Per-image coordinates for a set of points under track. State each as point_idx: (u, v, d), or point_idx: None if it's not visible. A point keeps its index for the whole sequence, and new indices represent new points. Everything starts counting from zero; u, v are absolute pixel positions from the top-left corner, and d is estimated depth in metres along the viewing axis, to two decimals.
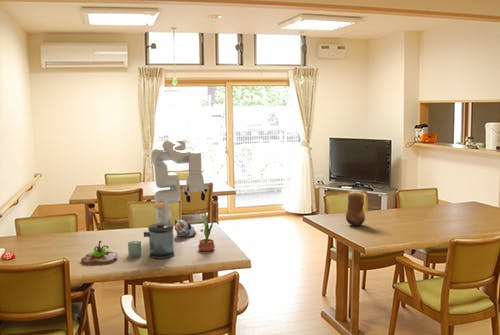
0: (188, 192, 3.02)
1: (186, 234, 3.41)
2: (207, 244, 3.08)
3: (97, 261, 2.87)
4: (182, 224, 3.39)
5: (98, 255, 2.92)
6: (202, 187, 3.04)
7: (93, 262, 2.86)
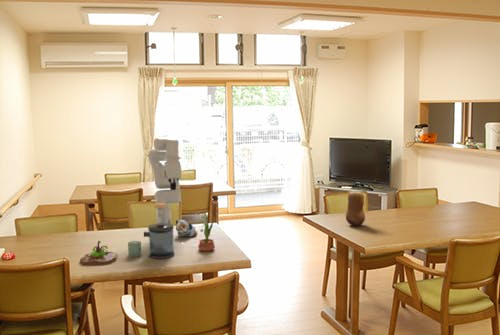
0: None
1: (187, 234, 3.41)
2: (207, 244, 3.08)
3: (96, 261, 2.86)
4: (183, 224, 3.39)
5: (97, 255, 2.92)
6: (179, 173, 3.10)
7: (92, 262, 2.86)
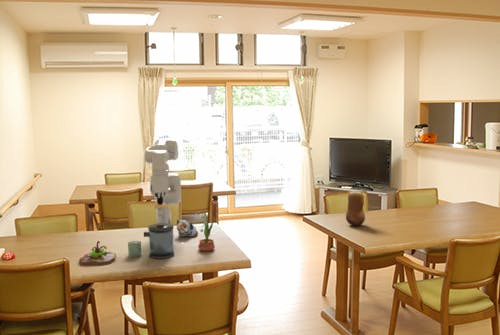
0: None
1: (188, 234, 3.41)
2: (207, 244, 3.08)
3: (95, 262, 2.86)
4: (184, 224, 3.39)
5: (96, 255, 2.91)
6: (166, 188, 2.98)
7: (91, 263, 2.86)
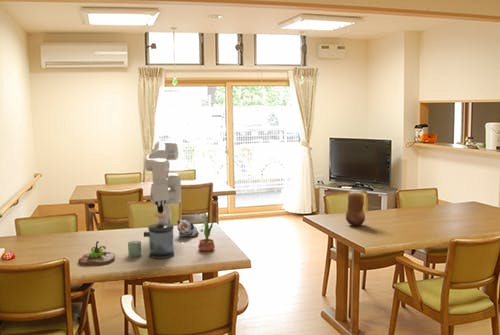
0: None
1: (189, 234, 3.41)
2: (207, 244, 3.08)
3: (94, 262, 2.85)
4: (185, 224, 3.39)
5: (95, 256, 2.91)
6: (167, 196, 2.99)
7: (90, 263, 2.85)
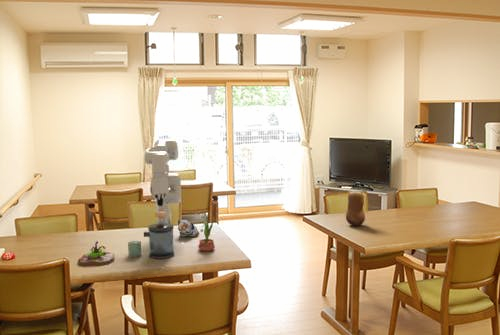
0: None
1: (190, 234, 3.41)
2: (207, 244, 3.08)
3: (94, 262, 2.85)
4: (186, 224, 3.39)
5: (95, 256, 2.91)
6: (166, 189, 2.98)
7: (90, 263, 2.85)
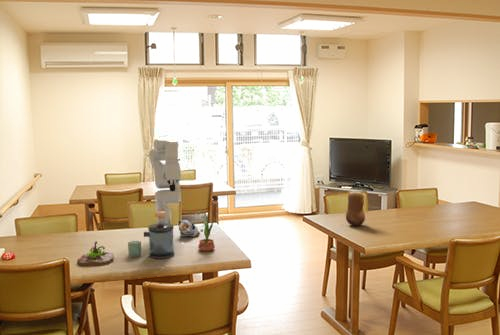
0: None
1: (190, 234, 3.41)
2: (207, 244, 3.08)
3: (94, 262, 2.85)
4: (186, 224, 3.39)
5: (94, 256, 2.90)
6: (179, 175, 3.08)
7: (90, 263, 2.85)
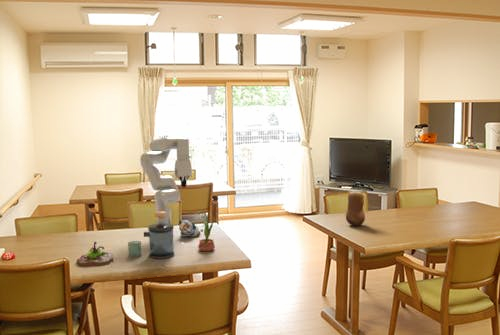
0: None
1: (191, 234, 3.41)
2: (207, 244, 3.08)
3: (93, 262, 2.85)
4: (187, 224, 3.39)
5: (94, 256, 2.90)
6: (190, 171, 3.19)
7: (89, 263, 2.84)
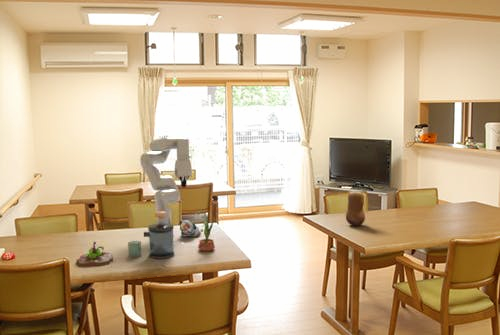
0: None
1: (192, 234, 3.41)
2: (207, 244, 3.08)
3: (93, 262, 2.84)
4: (188, 224, 3.39)
5: (93, 256, 2.90)
6: (190, 171, 3.19)
7: (89, 263, 2.84)
